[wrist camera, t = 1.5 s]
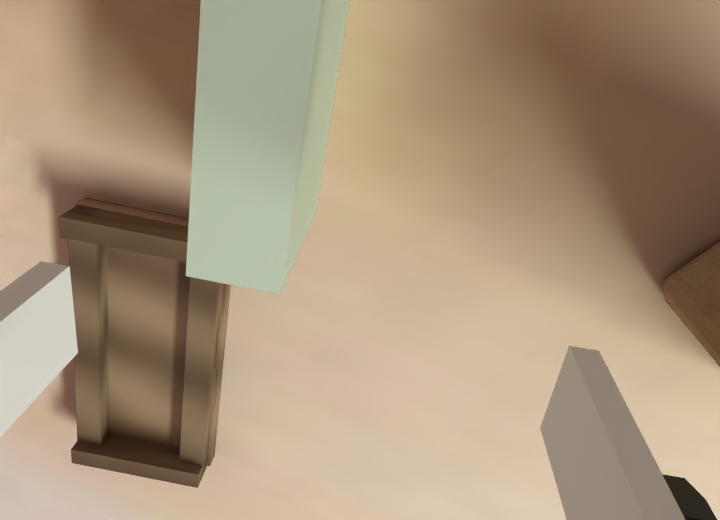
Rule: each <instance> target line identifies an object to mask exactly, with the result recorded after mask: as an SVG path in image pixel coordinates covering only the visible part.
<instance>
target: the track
mask: <svg viewBox="0 0 720 520" xmlns="http://www.w3.org/2000/svg"><path fill="white" fill-rule="evenodd" d="M59 222H60V237H62V238H67V239H69V261H70V275H71V286H72V296H73V306H74V316H75V326H76V337H77V347H78V353H77V355H76V356H75V357H74V373H75V396H76V419H77V442H76V444H75V445H74V446H73V448H72V449H71V456H72V463H75V464H80V465H85V466H90V467H95V468H101V469H106V470H111V471H116V472H121V473H126V474H131V475H136V476H141V477H146V478H151V479H156V480H161V481H166V482H171V483H176V484H181V485H186V486H192V487H197V488H198V486H199V483H200V481H201V479H202V476H203V474H204V472H205V469H206V467H207V466H210V465H211V462H212V460H213V458H214V454H215V443H216V433H217V422H218V412H219V401H220V390H221V380H222V369H223V358H224V348H225V337H226V327H227V316H228V305H229V295H230V285H228V284H223V283H218V282H213V281H208V280H203V279H198V278H193V277H188V276H186V261H187V243H188V225H189V219H187V218H182V217H177V216H172V215H167V214H162V213H157V212H152V211H147V210H142V209H137V208H132V207H127V206H122V205H117V204H112V203H107V202H102V201H97V200H92V199H87V198H84V199H82V200H80V201H79V202H77V203H76V204H75V207H74V208H72V209H71V210H69V211H68V212H66V213H65V214H63V215H61V216H60V217H59Z"/></svg>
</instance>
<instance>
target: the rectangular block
mask: <svg viewBox="0 0 720 520" xmlns="http://www.w3.org/2000/svg"><path fill="white" fill-rule="evenodd" d="M349 3H350V0H201V6H200V24H199V43H198V61H197V79H196V97H195V115H194V134H193V152H192V170H191V188H190V207H189V225H188V243H187V261H186V276H188V277H193V278H198V279H203V280H208V281H213V282H218V283H223V284H228V285H233V286H238V287H243V288H248V289H253V290H258V291H263V292H268V293H273V294H278V295H281V293H282V291H283V288H284V286H285V284H286V281H287V279H288V277H289V274H290V272H291V270H292V267H293V265H294V263H295V260H296V258H297V256H298V253H299V251H300V249H301V246H302V244H303V242H304V239H305V237H306V235H307V232H308V230H309V228H310V225H311V223H312V221H313V218H314V216H315V214H316V211H317V205H318V199H319V192H320V186H321V180H322V173H323V167H324V161H325V154H326V148H327V142H328V136H329V129H330V123H331V117H332V110H333V104H334V98H335V91H336V85H337V79H338V72H339V66H340V60H341V54H342V47H343V41H344V35H345V28H346V22H347V16H348V9H349Z"/></svg>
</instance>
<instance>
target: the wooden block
mask: <svg viewBox="0 0 720 520" xmlns="http://www.w3.org/2000/svg"><path fill="white" fill-rule="evenodd" d="M662 286H663V291H664V295H665V300H666V302H667V303H668V304H669V305H670V307H671V308H672V309H673V310H674V311H675V313H676V314H677V315H678V316H679V317H680V319H681V320H682V321H683V322H684V324H685V325H686V326H687V327H688V328H689V330H690V331H691V332H692V333H693V334H694V336H695V337H696V338H697V339H698V341H699V342H700V343H701V344H702V345H703V347H704V348H705V349H706V350H707V351H708V353H709V354H710V355H711V356H712V357H713V359H714V360H715V361H716V362H717V364H718V365H719V366H720V241H719V242H718V243H717V244H715V245H714V246H712V247H711V248H709V249H708V250H706V251H705V252H703V253H702V254H701V255H699V256H698V257H696V258H695V259H693V260H692V261H690V262H689V263H687V264H686V265H685V266H683V267H682V268H680V269H679V270H677V271H676V272H674V273H673V274H671V275H670V276H669V277H668V278H667V280H666V281H665V282H664V283H663V285H662Z"/></svg>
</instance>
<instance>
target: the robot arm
mask: <svg viewBox="0 0 720 520" xmlns="http://www.w3.org/2000/svg"><path fill="white" fill-rule="evenodd" d="M77 353H78V347H77V337H76V326H75V316H74V306H73V296H72V286H71V275H70V266H66V265H59V264H53V263H47V262H40V263H38V264H37V265H36V266H34V267H33V268H31V269H30V270H29V271H27V272H26V273H25V274H23V275H22V276H20V277H19V278H18V279H16V280H15V281H14V282H12V283H11V284H10V285H8V286H7V287H5V288H4V289H3V290H1V291H0V437H1V436H2V435H3V434H4V432H5V431H6V430H7V429H8V428H9V427H10V426H11V425H12V424H13V423H14V422H15V421H16V419H17V418H18V417H19V416H20V415H21V414H22V413H23V412H24V411H25V410H26V409H27V408H28V406H29V405H30V404H31V403H32V402H33V401H34V400H35V399H36V398H37V397H38V396H39V395H40V393H41V392H42V391H43V390H44V389H45V388H46V387H47V386H48V385H49V384H50V383H51V382H52V380H53V379H54V378H55V377H56V376H57V375H58V374H59V373H60V372H61V371H62V370H63V369H64V367H65V366H66V365H67V364H68V363H69V362H70V361H71V360H72V359H73V358H74V357H75V356H76V355H77ZM540 429H541V432H542V436H543V439H544V443H545V446H546V450H547V453H548V456H549V460H550V463H551V467H552V470H553V474H554V477H555V481H556V484H557V488H558V491H559V495H560V498H561V501H562V505H563V508H564V512H565V515H566V519H567V520H717V519H716V517H715V515H714V513H713V512H712V510H711V508H710V506H709V505H708V503H707V501H706V499H705V498H704V497H703V496H702V495H701V494H700V493H699V492H698V491H697V490H696V489H695V488H694V487H693V486H692V485H691V484H690V483H689V482H688V481H687V480H686V479H685V478H680V477H674V476H668V475H662V473H661V471H660V469H659V467H658V465H657V463H656V461H655V459H654V457H653V455H652V454H651V452H650V450H649V448H648V446H647V444H646V442H645V440H644V438H643V436H642V434H641V432H640V430H639V428H638V426H637V424H636V422H635V420H634V418H633V416H632V415H631V413H630V411H629V409H628V407H627V405H626V403H625V401H624V399H623V397H622V395H621V393H620V391H619V389H618V387H617V385H616V383H615V381H614V379H613V377H612V375H611V374H610V372H609V370H608V368H607V366H606V364H605V362H604V360H603V358H602V356H601V354H600V352H599V351H598V350H591V349H585V348H579V347H573V346H569V348H568V351H567V353H566V356H565V359H564V362H563V365H562V368H561V370H560V373H559V376H558V379H557V382H556V385H555V388H554V390H553V393H552V396H551V399H550V402H549V405H548V407H547V410H546V413H545V416H544V419H543V422H542V424H541V427H540Z"/></svg>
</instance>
